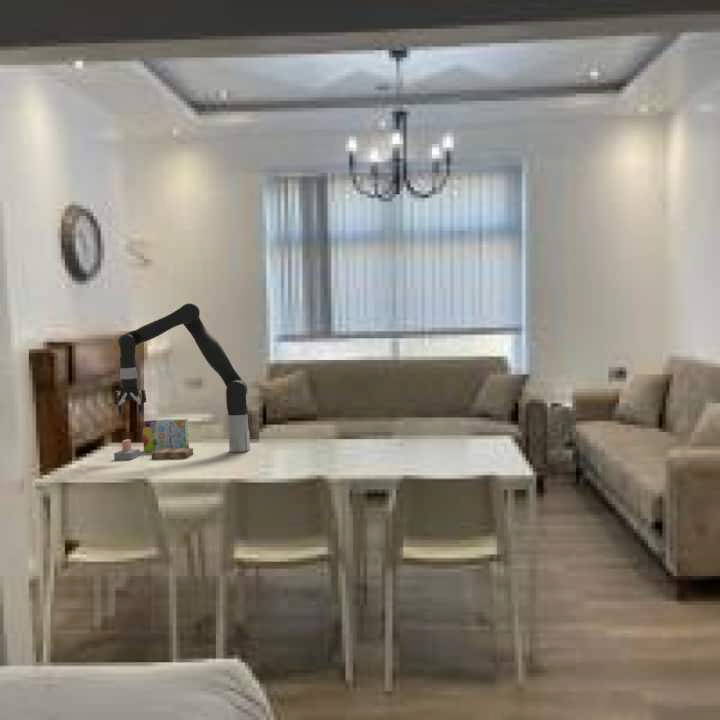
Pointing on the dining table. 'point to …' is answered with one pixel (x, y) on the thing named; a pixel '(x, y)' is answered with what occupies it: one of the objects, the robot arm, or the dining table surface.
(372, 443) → the dining table surface
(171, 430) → the snack box
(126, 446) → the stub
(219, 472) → the dining table surface
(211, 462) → the dining table surface
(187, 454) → the board
